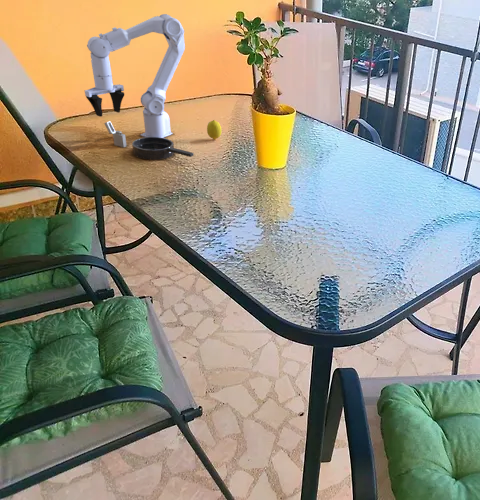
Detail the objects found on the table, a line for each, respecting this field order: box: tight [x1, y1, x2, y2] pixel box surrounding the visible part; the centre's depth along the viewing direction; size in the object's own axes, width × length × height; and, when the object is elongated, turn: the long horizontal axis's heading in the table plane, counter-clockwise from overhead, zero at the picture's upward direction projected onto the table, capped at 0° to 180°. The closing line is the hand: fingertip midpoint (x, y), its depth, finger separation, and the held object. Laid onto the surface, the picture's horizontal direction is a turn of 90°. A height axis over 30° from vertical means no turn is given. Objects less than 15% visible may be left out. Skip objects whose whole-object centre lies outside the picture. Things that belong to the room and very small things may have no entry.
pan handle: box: [169, 147, 195, 158], centre depth 163 cm, size 2×9×1 cm, turn 71°
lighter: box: [103, 120, 128, 148], centre depth 167 cm, size 7×2×8 cm, turn 72°
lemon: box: [206, 119, 223, 141], centre depth 184 cm, size 6×6×8 cm
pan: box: [131, 137, 175, 161], centre depth 166 cm, size 14×14×4 cm
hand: (108, 113), depth 168 cm, fingers open, 7 cm apart
